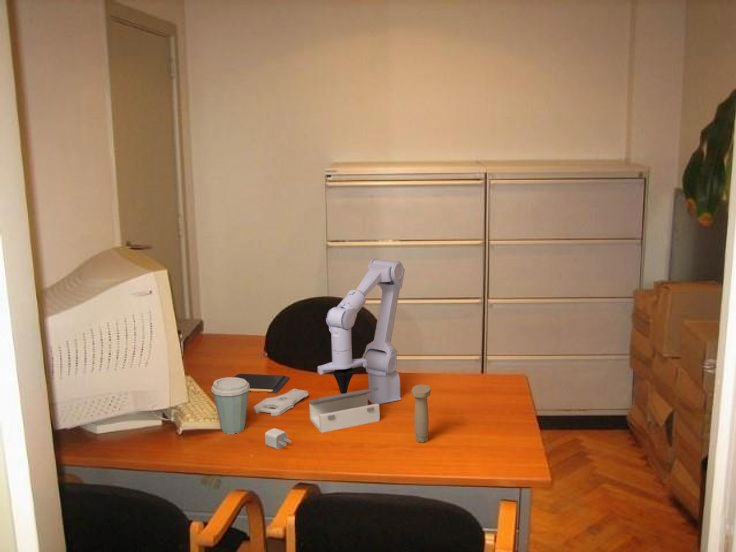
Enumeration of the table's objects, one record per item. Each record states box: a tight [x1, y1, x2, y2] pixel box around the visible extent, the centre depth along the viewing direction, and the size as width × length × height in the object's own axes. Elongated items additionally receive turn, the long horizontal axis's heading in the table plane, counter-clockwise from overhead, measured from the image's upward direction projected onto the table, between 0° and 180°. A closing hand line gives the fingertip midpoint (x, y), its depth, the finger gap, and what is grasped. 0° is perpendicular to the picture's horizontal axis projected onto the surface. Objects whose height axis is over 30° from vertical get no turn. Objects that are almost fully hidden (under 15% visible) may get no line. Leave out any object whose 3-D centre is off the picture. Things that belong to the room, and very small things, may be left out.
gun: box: [253, 387, 309, 417], centre depth 222 cm, size 18×3×10 cm
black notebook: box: [234, 373, 291, 394], centre depth 241 cm, size 20×2×15 cm
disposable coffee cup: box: [211, 376, 250, 435], centre depth 204 cm, size 11×11×15 cm
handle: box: [411, 384, 432, 444], centre depth 194 cm, size 5×6×15 cm
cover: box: [308, 387, 379, 404], centre depth 208 cm, size 18×10×1 cm, turn 113°
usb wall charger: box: [264, 427, 292, 450], centre depth 194 cm, size 4×7×4 cm, turn 51°
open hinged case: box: [308, 393, 381, 434], centre depth 209 cm, size 18×11×5 cm, turn 113°
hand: (343, 393), depth 208 cm, fingers closed, pressing on cover
